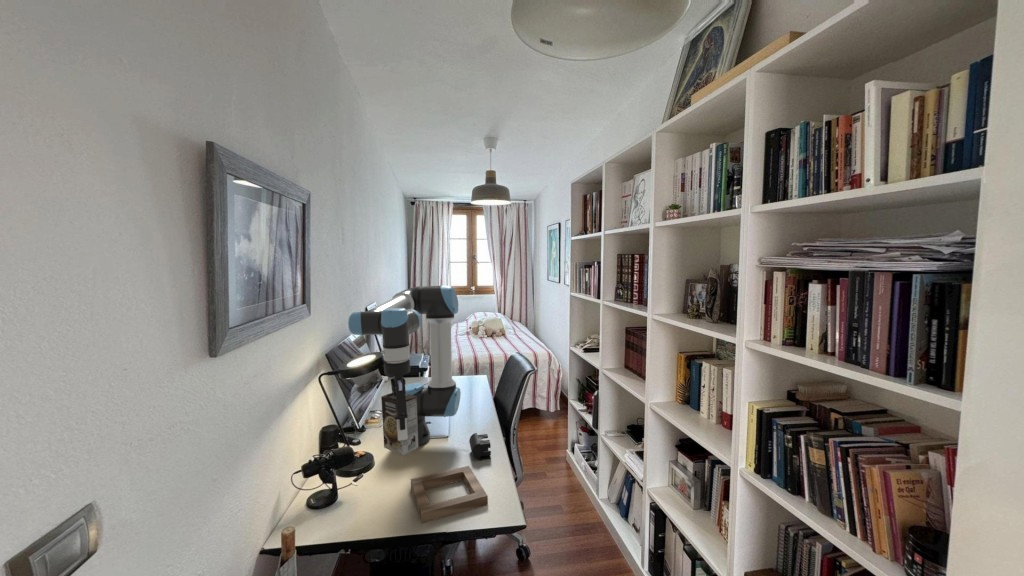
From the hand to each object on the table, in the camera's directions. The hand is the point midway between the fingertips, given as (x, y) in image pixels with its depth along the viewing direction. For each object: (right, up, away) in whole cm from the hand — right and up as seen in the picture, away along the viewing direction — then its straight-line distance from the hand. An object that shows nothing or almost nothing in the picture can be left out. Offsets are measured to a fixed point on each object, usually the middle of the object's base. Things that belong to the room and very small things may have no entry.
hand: (400, 431), depth 123 cm
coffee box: (0, -5, 0) cm, 5 cm away
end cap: (+21, -21, +34) cm, 45 cm away
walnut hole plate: (+13, -23, +7) cm, 27 cm away
